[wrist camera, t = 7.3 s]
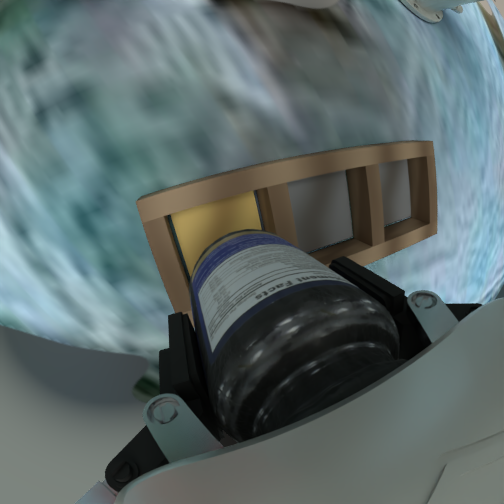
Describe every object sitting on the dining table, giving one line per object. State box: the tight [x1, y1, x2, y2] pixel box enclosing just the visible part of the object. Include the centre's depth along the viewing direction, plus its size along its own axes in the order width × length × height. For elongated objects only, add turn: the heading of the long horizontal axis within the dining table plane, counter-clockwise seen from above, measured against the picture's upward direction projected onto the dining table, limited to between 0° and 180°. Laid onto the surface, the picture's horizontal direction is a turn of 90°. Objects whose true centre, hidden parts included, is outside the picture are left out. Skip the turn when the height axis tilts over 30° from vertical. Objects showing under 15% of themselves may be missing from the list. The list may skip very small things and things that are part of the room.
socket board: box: [136, 140, 437, 327], centre depth 22 cm, size 28×10×3 cm, turn 103°
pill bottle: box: [189, 229, 408, 443], centre depth 9 cm, size 6×6×11 cm
